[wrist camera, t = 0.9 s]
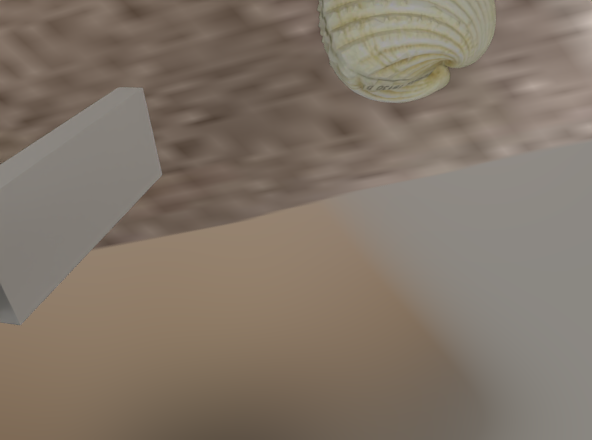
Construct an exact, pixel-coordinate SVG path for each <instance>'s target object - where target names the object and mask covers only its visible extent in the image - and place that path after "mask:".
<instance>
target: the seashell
mask: <svg viewBox="0 0 592 440" xmlns="http://www.w3.org/2000/svg"><path fill="white" fill-rule="evenodd" d="M317 11H319V12H320V15H319V19H320V22H319V25H318V26H319V27H320V29H321V31H320V34H321V35H322V36H323V39H322V43H324V48H325V50H326V52H327V54H328V56H329V59H330V63H329V64H330V66H331V67H332V68H333V69H334V71H335V73H336V74H337V75H338V77H339V79H340V80H341V81H343V83H344V84H345V85H347V87H348V88H350V89H351V90H352V91H353V92H355V93H357V94H359V95H361V96H363V97H365V98H368V99H371V100H375V101H381V102H393V103H404V102H409V101H413V100H417V99H420V98H424V97H426V96H428V95H431V94H432V93H434V92H435V91H438V90H440V89H442V88H443V87H445V86H446V85H447V84H448V82H449V80H450V72H449V70H448V68H447V66H448V67H451V68H462V67H466V66H468V65H470V64H473V63H475V62H476V61H477V60H478V59H479V58H480V57H481V56H482V55H483V54H484V53H485V52H486V50H487V48H488V46H489V45H490V43H491V41H492V38H493V35H494V30H495V24H496V10H495V3H494V0H319V5H318V9H317Z"/></svg>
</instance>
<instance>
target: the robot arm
mask: <svg viewBox="0 0 592 440" xmlns="http://www.w3.org/2000/svg"><path fill="white" fill-rule="evenodd" d="M161 176H162V171H161V166H160V162H159V158H158V153H157V149H156V144H155V140H154V135H153V131H152V126H151V122H150V118H149V113H148V109H147V104H146V100H145V95H144V91H143V88H128V87H118V88H117V89H115V90H114V91H112V92H111V93H109V94H107V95H106V96H104V97H103V98H101V99H100V100H98V101H97V102H95V103H94V104H92V105H91V106H89V107H88V108H86V109H85V110H83V111H81V112H80V113H78V114H77V115H75V116H74V117H72V118H71V119H69V120H68V121H66V122H65V123H63V124H62V125H60V126H59V127H57V128H56V129H54V130H52V131H51V132H49V133H48V134H46V135H45V136H43V137H42V138H40V139H39V140H37V141H36V142H34V143H33V144H31V145H30V146H28V147H26V148H25V149H23V150H22V151H20V152H19V153H17V154H16V155H14V156H13V157H11V158H10V159H8V160H7V161H5V162H4V163H2V164H0V322H2V323H8V324H16V325H21V324H22V323H23V322H24V321H25V320H26V319H27V318H28V317H29V315H30V314H31V313H32V312H33V311H34V310H35V309H36V308H37V307H38V306H39V305H40V304H41V303H42V302H43V301H44V300H45V299H46V297H48V295H49V294H50V293H51V292H52V291H53V290H54V289H55V288H56V287H57V286H58V285H59V284H60V283H61V282H62V281H63V280H64V278H65V277H66V276H67V275H68V274H69V273H70V272H71V271H72V270H73V269H74V268H75V267H76V266H77V265H78V264H79V263H80V261H81V260H82V259H83V258H84V257H85V256H86V255H87V254H88V253H89V252H90V251H91V250H92V249H93V248H94V247H95V246H96V245H97V243H98V242H99V241H100V240H101V239H102V238H103V237H104V236H105V235H106V234H107V233H108V232H109V231H110V230H111V229H112V228H113V227H114V225H115V224H116V223H117V222H118V221H119V220H120V219H121V218H122V217H123V216H124V215H125V214H126V213H127V212H128V211H129V210H130V208H131V207H132V206H133V205H134V204H135V203H136V202H137V201H138V200H139V199H140V198H141V197H142V196H143V195H144V194H145V193H146V192H147V190H148V189H149V188H150V187H151V186H152V185H153V184H154V183H155V182H156V181H157V180H158V179H159V178H160V177H161Z"/></svg>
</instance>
